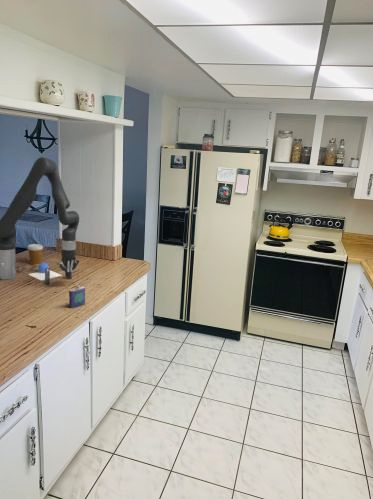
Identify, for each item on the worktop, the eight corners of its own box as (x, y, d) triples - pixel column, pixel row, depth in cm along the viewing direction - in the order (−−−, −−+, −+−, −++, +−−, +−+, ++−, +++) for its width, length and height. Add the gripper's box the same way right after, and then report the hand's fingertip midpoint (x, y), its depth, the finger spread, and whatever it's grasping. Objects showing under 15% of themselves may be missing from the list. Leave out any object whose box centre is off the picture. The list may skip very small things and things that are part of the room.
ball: (37, 273, 236) (41, 273, 232) (36, 264, 236) (39, 263, 232) (47, 272, 240) (51, 271, 236) (45, 262, 240) (49, 261, 236)
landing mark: (41, 280, 223) (41, 280, 223) (28, 274, 231) (28, 274, 231) (62, 275, 233) (62, 275, 233) (49, 270, 242) (49, 269, 242)
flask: (83, 302, 197) (83, 282, 195) (86, 304, 196) (87, 284, 193) (67, 307, 190) (67, 286, 187) (71, 309, 188) (71, 288, 186)
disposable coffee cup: (27, 261, 255) (26, 244, 252) (42, 261, 259) (42, 243, 256) (28, 266, 246) (27, 247, 243) (44, 265, 250) (43, 247, 247)
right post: (69, 279, 228) (69, 265, 226) (66, 278, 229) (66, 264, 227) (72, 278, 230) (72, 264, 228) (70, 277, 231) (70, 263, 229)
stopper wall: (19, 272, 233) (19, 268, 232) (17, 271, 234) (17, 267, 234) (46, 267, 247) (46, 263, 246) (44, 266, 248) (44, 262, 247)
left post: (46, 285, 217) (46, 269, 214) (44, 283, 218) (43, 268, 216) (50, 284, 219) (50, 268, 216) (48, 282, 220) (48, 267, 218)
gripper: (75, 244, 218) (74, 273, 222) (54, 247, 208) (53, 278, 212) (83, 247, 214) (82, 277, 218) (62, 251, 204) (61, 282, 208)
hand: (68, 277), depth 215 cm, fingers closed
